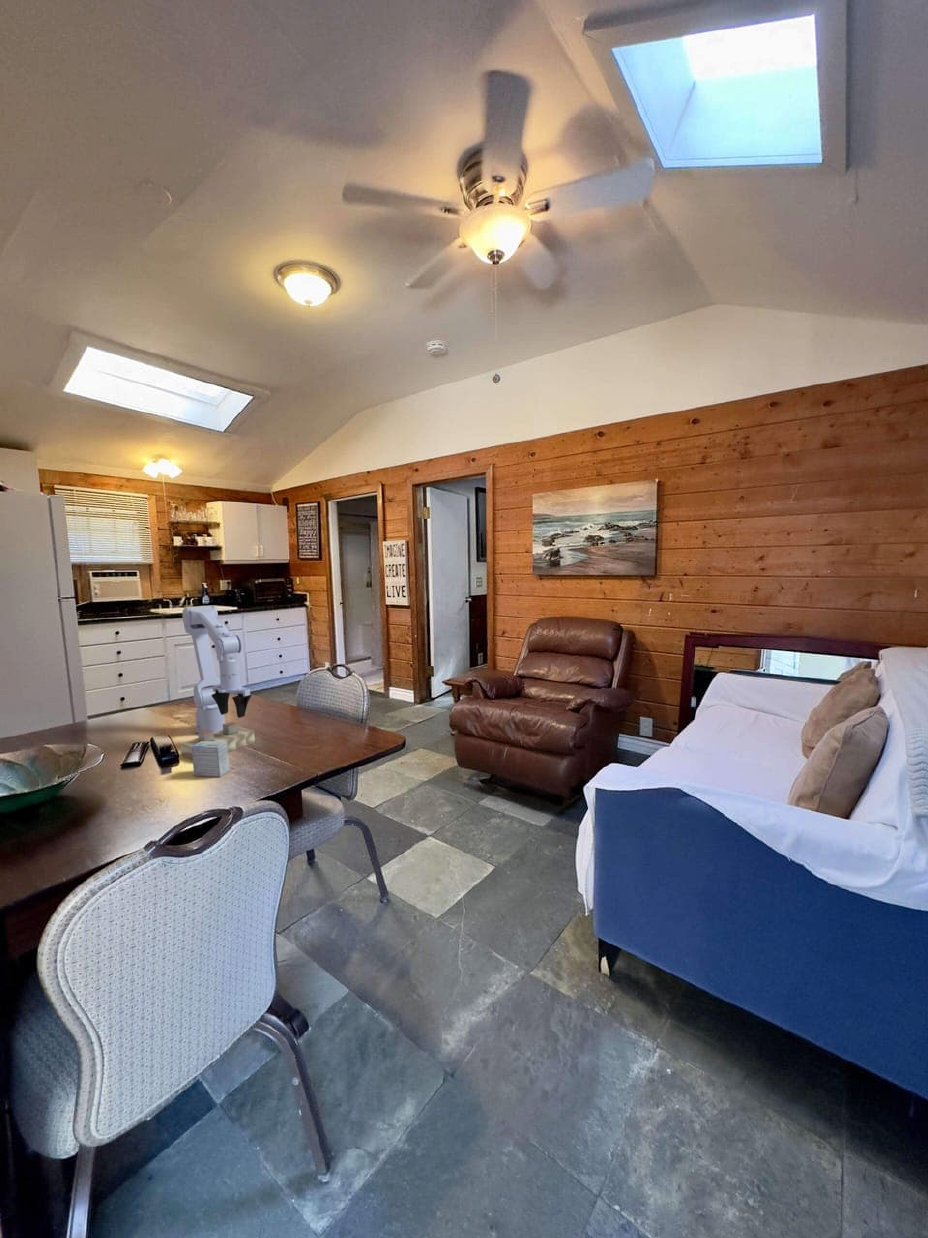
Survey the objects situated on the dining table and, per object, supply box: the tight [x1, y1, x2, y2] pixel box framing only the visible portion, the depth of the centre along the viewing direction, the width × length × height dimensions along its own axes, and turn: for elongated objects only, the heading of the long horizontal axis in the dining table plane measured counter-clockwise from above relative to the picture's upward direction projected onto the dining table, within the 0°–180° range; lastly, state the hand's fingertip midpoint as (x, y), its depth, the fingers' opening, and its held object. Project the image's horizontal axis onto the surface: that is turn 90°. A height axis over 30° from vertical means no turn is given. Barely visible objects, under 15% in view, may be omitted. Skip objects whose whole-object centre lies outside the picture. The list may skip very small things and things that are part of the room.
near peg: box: [197, 729, 214, 742], centre depth 147 cm, size 3×3×4 cm
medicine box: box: [192, 741, 230, 778], centre depth 132 cm, size 8×4×9 cm, turn 84°
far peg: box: [223, 721, 238, 735], centre depth 154 cm, size 3×3×4 cm
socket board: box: [180, 725, 256, 761], centre depth 150 cm, size 18×10×4 cm, turn 150°
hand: (232, 715), depth 153 cm, fingers open, 7 cm apart
